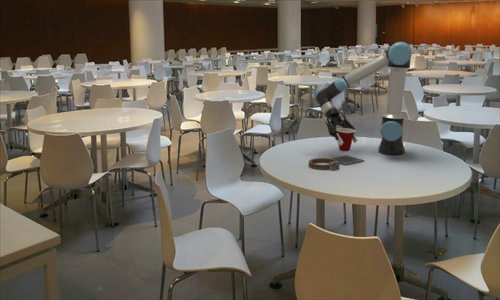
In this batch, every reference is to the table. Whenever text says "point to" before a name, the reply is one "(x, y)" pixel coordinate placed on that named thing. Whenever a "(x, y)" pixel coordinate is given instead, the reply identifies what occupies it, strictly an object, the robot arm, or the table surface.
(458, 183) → the table surface
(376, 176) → the table surface
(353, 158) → the rubber pad
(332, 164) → the walnut collar
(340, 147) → the plastic cup
